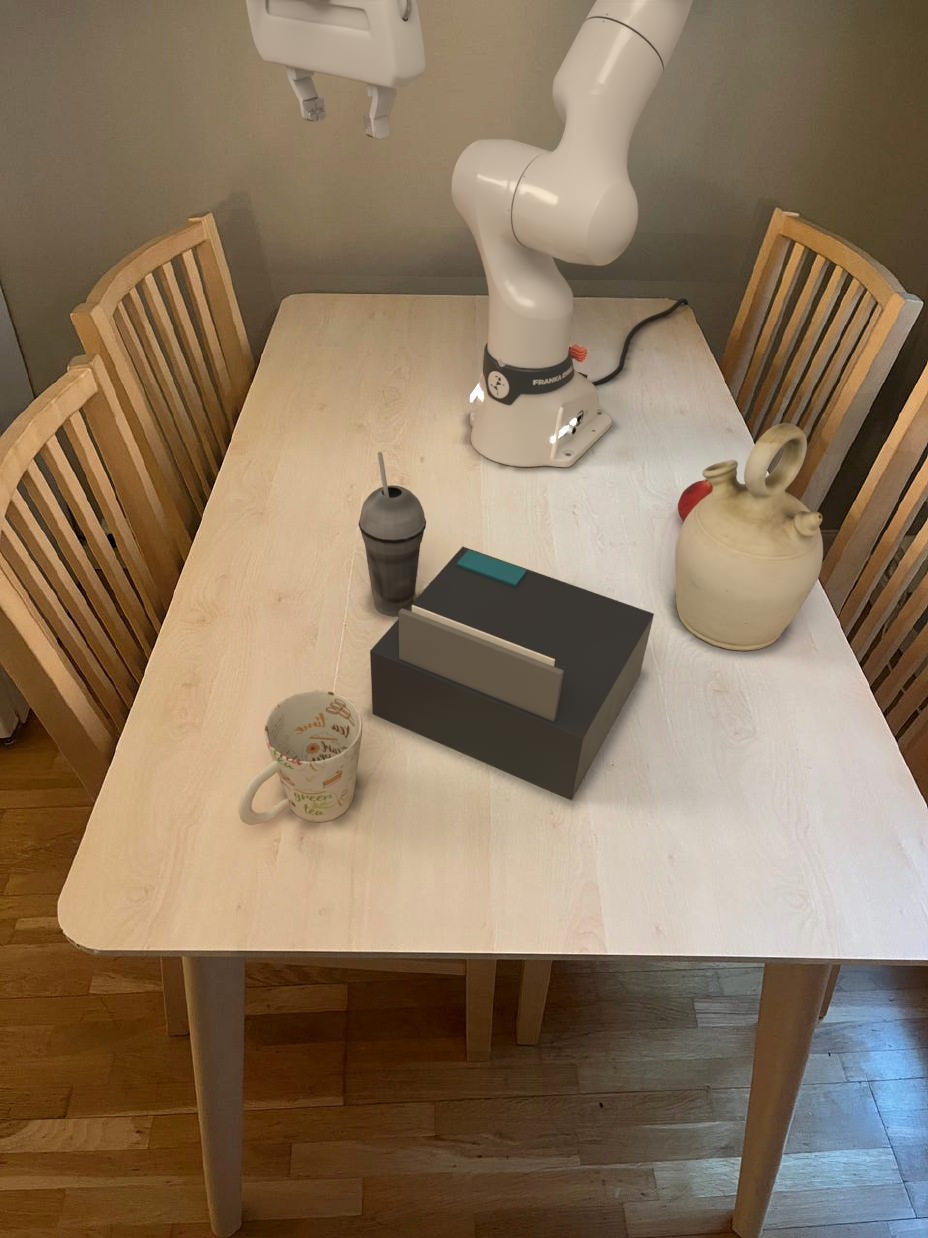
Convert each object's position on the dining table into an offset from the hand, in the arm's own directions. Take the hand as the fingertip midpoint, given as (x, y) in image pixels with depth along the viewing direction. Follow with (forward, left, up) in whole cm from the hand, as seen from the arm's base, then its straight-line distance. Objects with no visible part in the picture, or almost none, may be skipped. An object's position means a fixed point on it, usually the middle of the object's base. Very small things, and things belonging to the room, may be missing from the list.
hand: (345, 127), depth 86 cm
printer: (+8, +31, -47) cm, 57 cm away
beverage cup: (+7, +12, -47) cm, 49 cm away
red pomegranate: (-31, +30, -47) cm, 64 cm away
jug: (-19, +42, -47) cm, 66 cm away
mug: (+33, +28, -47) cm, 63 cm away
